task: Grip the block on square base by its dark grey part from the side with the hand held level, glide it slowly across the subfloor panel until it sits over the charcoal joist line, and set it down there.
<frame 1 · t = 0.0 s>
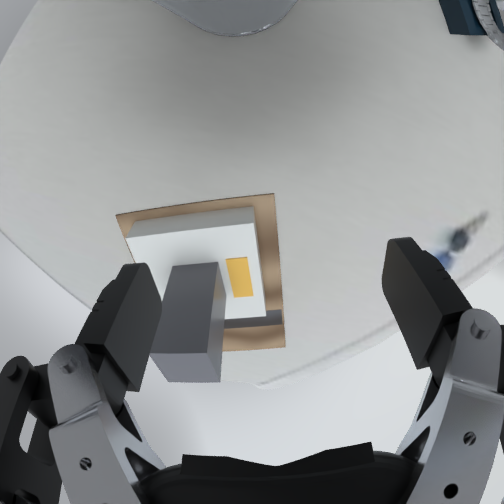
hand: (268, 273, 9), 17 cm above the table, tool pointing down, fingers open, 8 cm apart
subfloor panel: (213, 294, 34), on the table
block on square base: (203, 262, 31), resting on subfloor panel
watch: (461, 12, 14), on the table
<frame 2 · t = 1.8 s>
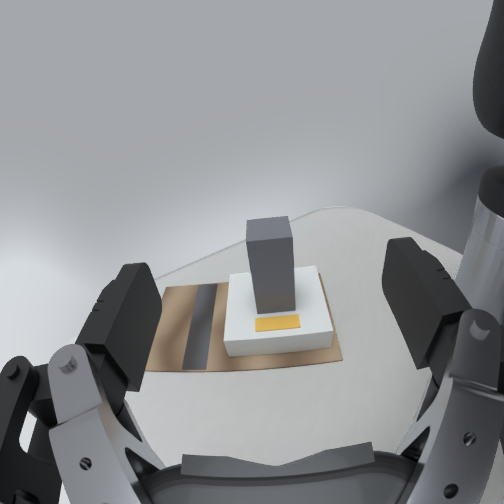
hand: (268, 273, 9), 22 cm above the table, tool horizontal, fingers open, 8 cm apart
subfloor panel: (238, 320, 38), on the table
block on square base: (277, 316, 37), resting on subfloor panel
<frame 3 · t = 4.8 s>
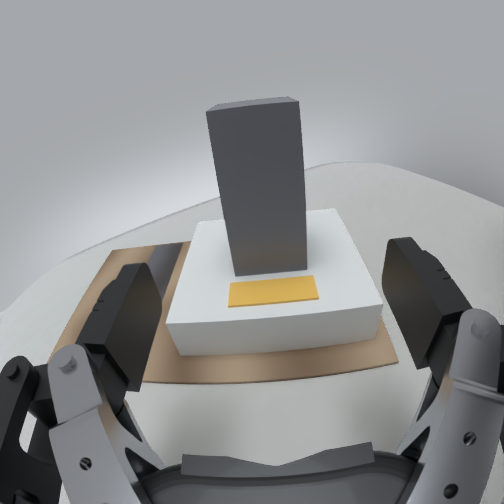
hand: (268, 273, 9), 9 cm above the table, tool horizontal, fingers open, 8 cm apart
subfloor panel: (207, 293, 22), on the table
block on square base: (273, 286, 22), resting on subfloor panel
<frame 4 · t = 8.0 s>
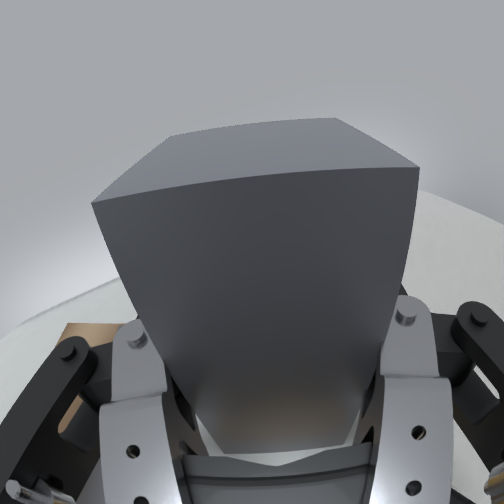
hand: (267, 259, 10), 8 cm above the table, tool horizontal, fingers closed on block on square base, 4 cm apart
subfloor panel: (186, 430, 13), on the table
block on square base: (283, 428, 12), resting on subfloor panel, touching gripper
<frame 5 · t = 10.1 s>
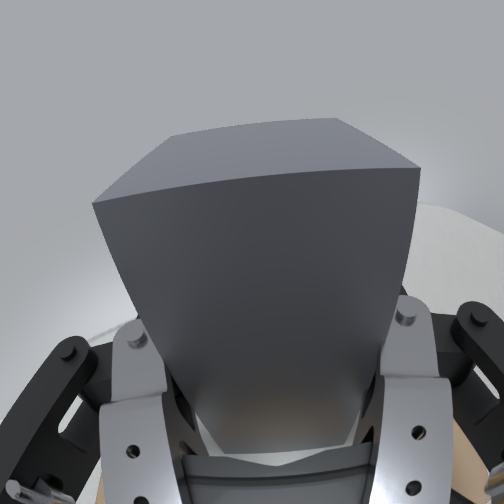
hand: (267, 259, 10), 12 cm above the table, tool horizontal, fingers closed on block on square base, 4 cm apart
subfloor panel: (291, 443, 14), on the table
block on square base: (283, 428, 12), point 3 cm above the table, touching gripper
when the fingers open (9 cm above the table, at t = 12.3 s): block on square base stays where it is, resting on subfloor panel.
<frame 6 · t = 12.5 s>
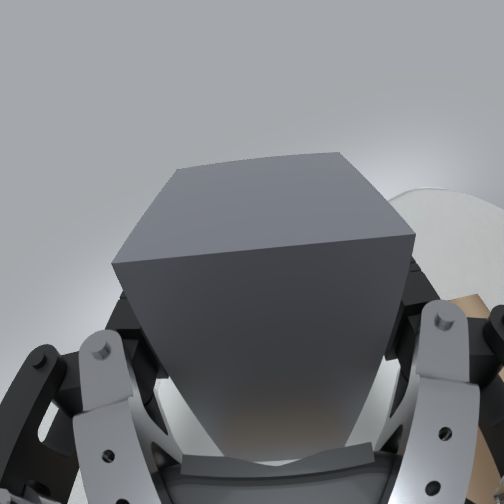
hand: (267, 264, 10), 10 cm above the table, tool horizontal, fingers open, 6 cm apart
subfloor panel: (375, 422, 13), on the table
block on square base: (284, 436, 13), resting on subfloor panel
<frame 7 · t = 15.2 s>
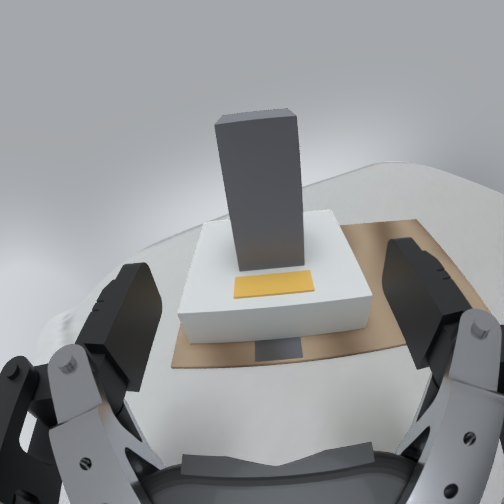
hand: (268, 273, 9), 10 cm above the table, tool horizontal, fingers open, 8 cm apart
subfloor panel: (333, 276, 24), on the table
block on square base: (273, 281, 24), resting on subfloor panel
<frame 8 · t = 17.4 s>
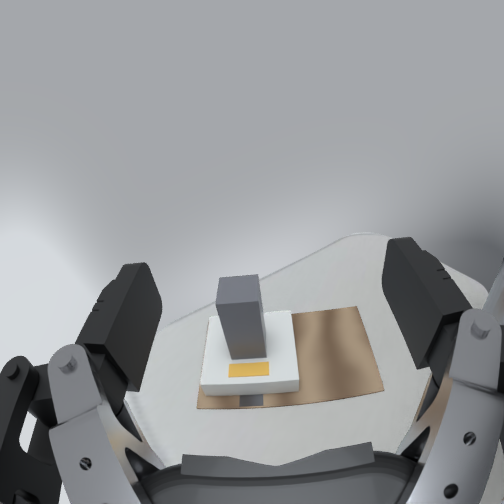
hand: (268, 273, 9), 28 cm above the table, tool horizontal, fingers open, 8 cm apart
subfloor panel: (287, 355, 39), on the table
block on square base: (251, 358, 39), resting on subfloor panel
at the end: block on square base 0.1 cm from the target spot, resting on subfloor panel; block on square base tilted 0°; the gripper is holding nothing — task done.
